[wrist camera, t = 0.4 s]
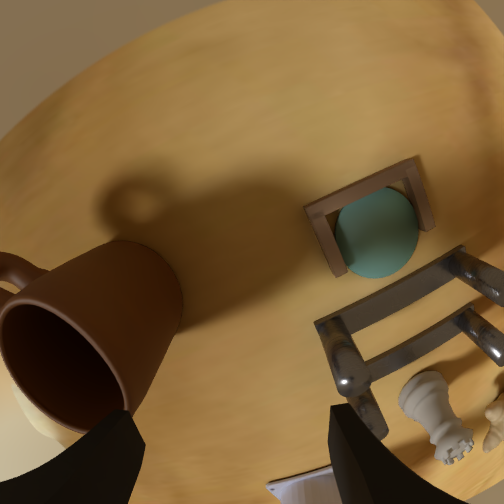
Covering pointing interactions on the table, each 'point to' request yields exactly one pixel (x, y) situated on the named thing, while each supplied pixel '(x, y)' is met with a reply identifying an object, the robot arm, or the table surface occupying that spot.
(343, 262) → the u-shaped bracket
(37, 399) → the mug
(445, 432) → the rook chess piece
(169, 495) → the table surface
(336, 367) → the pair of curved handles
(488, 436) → the beige figurine
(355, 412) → the robot arm
